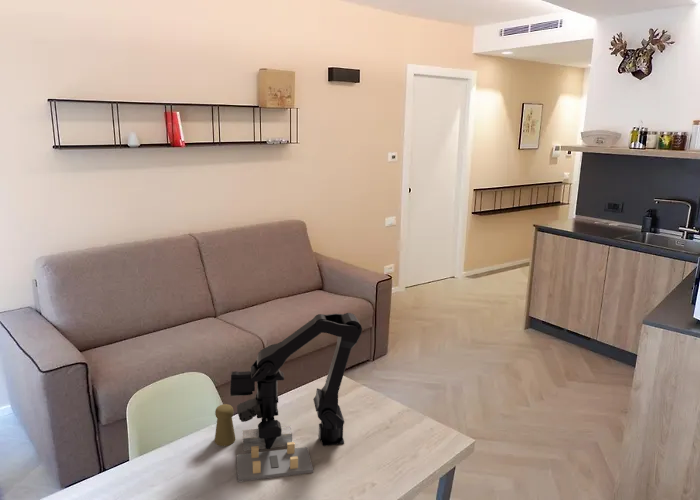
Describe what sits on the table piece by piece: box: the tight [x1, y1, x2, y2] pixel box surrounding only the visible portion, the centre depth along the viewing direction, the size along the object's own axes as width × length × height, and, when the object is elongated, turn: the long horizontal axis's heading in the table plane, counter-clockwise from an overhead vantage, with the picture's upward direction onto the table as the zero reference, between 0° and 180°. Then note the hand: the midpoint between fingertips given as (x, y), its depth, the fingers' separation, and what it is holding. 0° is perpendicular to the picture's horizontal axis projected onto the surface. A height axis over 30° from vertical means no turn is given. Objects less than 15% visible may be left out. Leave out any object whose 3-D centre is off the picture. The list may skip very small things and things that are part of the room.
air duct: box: [242, 425, 293, 451], centre depth 154 cm, size 14×4×4 cm, turn 104°
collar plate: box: [236, 441, 314, 483], centre depth 145 cm, size 20×10×4 cm, turn 104°
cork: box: [214, 403, 236, 447], centre depth 154 cm, size 6×6×11 cm
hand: (267, 440), depth 154 cm, fingers open, 7 cm apart
